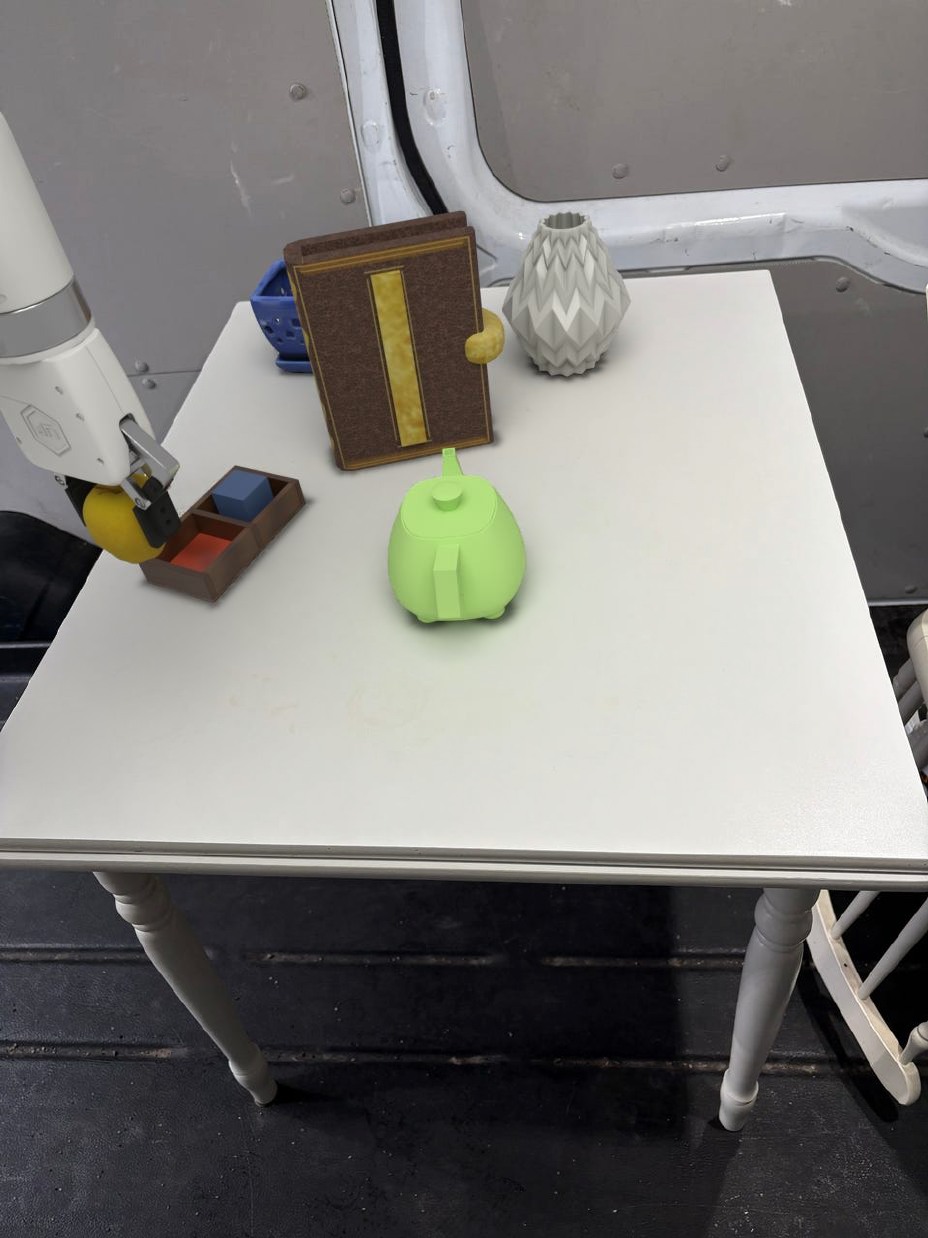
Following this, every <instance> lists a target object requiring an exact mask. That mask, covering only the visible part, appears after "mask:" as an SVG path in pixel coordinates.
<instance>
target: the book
mask: <svg viewBox="0 0 928 1238" xmlns="http://www.w3.org/2000/svg"><path fill="white" fill-rule="evenodd" d="M476 236H477V235H476V230H475V228H474V226H472V225H468V219H467V214H466V211H465V210H456V211H451V212H450V211H449V212H445V213H440V214H433V215H428V216H423V217H416V218H412V219H406V220H399V221H395V222H390V223H389V222H388V223H384V224H377V225H374V226H367V227H361V228H355V229H351V230H344V231H340V232H335V233H328V234H323V235H322V234H321V235H317V236H312V237H306V238H300V239H298V240H295V241H292V242H289V243H287V244H286V245H285V246H284V248H283V249H282V253H283V259H284V261H285V265H286V269H287V273H288V277H289V281H290V285H291V290H292V293H293V296H294V300H295V304H296V308H297V312H298V316H299V320H300V324H301V328H302V332H303V336H304V340H305V344H306V348H307V351H308V355H309V359H310V363H311V367H312V371H313V372H312V375H313V378H314V382H315V385H316V386H315V387H316V390H317V394H318V399H319V402H320V406H321V410H322V415H323V418H324V421H325V425H326V429H327V434H328V437H329V441H330V446H331V449H332V453H333V457H334V461H335V465H336V467H338V468H339V469H340V470H341V471H349V472H352V471H353V472H354V471H359V470H364V469H369V468H373V467H378V466H383V465H388V464H395V463H398V462H403V461H408V460H414V459H418V458H424V457H428V456H434V455H438V454H443V449H446V448H455V451H459V450H463V449H467V448H472V447H473V448H474V447H479V446H483V445H484V446H485V445H489V444H493V443H494V441H495V439H494V430H493V429H494V427H493V417H492V416H493V415H492V405H491V395H490V394H491V393H490V382H489V372H488V371H489V370H488V364H489V363H491V362H493V361H494V360H495V359H497V358H498V357H500V355H501V354H502V353H503V350H504V347H505V342H506V334H505V327H504V324H503V322H502V320H501V318H500V317H499V316H498V314H496V313H495V312H494V311H491V310H490V309H487V308H485V307H483V304H482V294H481V282H480V271H479V270H480V269H479V259H478V248H477V238H476Z"/></svg>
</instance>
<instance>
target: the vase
mask: <svg viewBox="0 0 928 1238" xmlns="http://www.w3.org/2000/svg"><path fill="white" fill-rule="evenodd" d="M530 238H531V239H530V242H529V243H528V245H527V246H526V247H525V249H523V251H522V253H521V258H520V261H519V266H518V268H517V272H516V275H515V276H514V277H513V279H512V280H511V281H510V283H509V285H508V289H507V291H506V295H505V298H504V300H503V304H502V307H501V312H502V313H503V315H504V317H505V319H506V321H507V322H508V325H509V326H510V328H511V330H512V331H513V333H514V335H515V338H516V340H517V341H518V343H519V345H520V346H521V348H522V350H523V351H524V353H525V355H526V356H528V357H530V358H532V360H533V364H534V365H537V366H538V370H539V372H548V374H549V375H550V376H555V375H557V376H558V375H562V376H565V377H567V378H568V377H570V376H571V375H573V374H580V375H583V374H584V373H585V371H587V370H588V369H594V368H595V365H596V363H597V362H598V361H600V358H601V354H603V353H605V352H607V351H608V348H609V347H610V345H611V343H612V341H613V340H614V338H615V336H616V334H617V332H618V330H619V326H620V325H621V323H622V321H623V319H624V317H625V315H626V314H627V311H628V308H629V307H630V305H631V303H632V299H631V297H630V294H629V292H628V289H627V287H626V284H625V282H624V279H623V276H622V274H621V273H620V272H619V271H618V270H617V268H615V267H614V263H613V261H612V257H611V253H610V250H609V247H608V244H606V243H605V242H604V240H602V238H601V237H600V235H599V232H598V229H597V228H596V227H595V226H594V225H593V222H592V220H591V218H590V215H589V214H583V212H582V211H576V212H574V211H572V210H571V209H570V210H567V211H565V212H563V211H559V210H557V211H556V212H555V213H553V214H551V213H547V214H546V216H545V217H541V218H539V219H538V224H537V227H536V230H535V231H533V233H532V235H531V237H530Z"/></svg>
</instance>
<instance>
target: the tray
mask: <svg viewBox="0 0 928 1238" xmlns="http://www.w3.org/2000/svg"><path fill="white" fill-rule="evenodd" d="M234 470H240V471H244V472H248V473H253V474H257V475H261V476H266V477H267V479H268V482H269V485H270V488H271V491H272V494H273V497H274V499H273V500H272V501H271V502H270V503H269V504H268V505H267V506H266V507H265V508H264V509H263V510H262V511H261V512H260V513H259V514H258V515H257V516H256V517H255V518H254V519H253V520H252V521H251V523H249V522H245V521H242V520H238V519H234V518H230V517H226V516H222V515H220V514H219V511H218V509H217V506H216V504H215V501H214V499H213V496H212V494H211V492H212V491H213V490H214V489H215V488H216V487H217V486H218V485H219V484H220V483H221V482H222V481H224V480H225V479H226V478H227V477H228V476H229V475H230V474H231V473H232V472H233V471H234ZM306 502H307V501H306V499H305V496H304V493H303V489H302V486H301V483H300V479H298V478H295V477H289V476H284V475H280V474H276V473H272V472H267V471H264V470H263V471H262V470H259V469H254V468H250V467H245V466H241V465H236V464H235V465H233V466H232V467H231V468H230V469H229V470H228V471H227V472H226V473H225V474H224V475H223V476H221V478H220V479H218V481H216V482H215V484H214V485H212V486H211V487H210V488H209V489H208V490H207V491H206V492H205V493H204V494H203V495H202V496H201V497H199V498H198V500H196V501H195V502H194V503H193V504H192V505H191V506H190V507H189V508H188V509H187V510H185V512H184V513H183V514H181V516H179V518H180V520H181V522H182V526H181V528H180V529H179V530H178V531H177V532H176V533H175V534H174V535H173V536H172V537H171V538H170V539H169V540H168V541H167V542H166V543H165V545H164V548H163V550H162V552H161V553H160V554H159V555H158V556H157V557H155V558H152V559H149V560H146V561H144V562H141V563H138V564H137V565H139V567H140V569H141V571H142V573H143V575H144V577H145V579H146V582H147V583H149V584H153V585H156V586H159V587H162V588H166V589H169V590H172V591H175V592H178V593H181V594H185V595H188V596H192V597H195V598H197V599H201V600H203V601H208V602H211V603H215V602H216V601H217V600H218V599H219V598H220V597H221V595H223V593H224V592H225V591H226V590H227V589H228V588H229V587H230V586H231V585H232V584H233V583H234V582H235V580H236V579H237V578H238V577H239V576H240V575H241V574H242V573H243V572H244V571H245V570H246V569H247V567H248V566H249V565H250V564H251V563H252V562H253V561H254V560H255V559H256V558H257V557H258V555H259V554H260V553H261V552H262V551H263V550H264V549H265V548H266V547H267V546H268V545H269V543H270V542H272V540H274V538H275V537H276V536H277V535H278V534H279V533H280V532H281V531H282V530H283V528H284V527H285V526H286V525H287V524H288V523H289V522H290V521H291V520H292V519H293V518H294V517H295V515H296V514H297V513H298V512H299V511H300V510H301V509H302V508H303V507H304V506H305V505H306Z"/></svg>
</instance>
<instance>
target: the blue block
mask: <svg viewBox="0 0 928 1238" xmlns="http://www.w3.org/2000/svg"><path fill="white" fill-rule="evenodd" d="M211 494H212V496H213V499H214V501H215V504H216V506H217V509H218V511H219V514H220V515H222V516H226V517H230V518H234V519H238V520H242V521H245V522H249V523H251V521H252V520H253V519H254V518H255V517H256V516H257V515H258V514H259V513H260V512H261V511H262V510H263V509H264V508H265V507H266V506H267V505H268V504H269V503H270V502H271V501H272V500H273V499H274V497H273V494H272V491H271V488H270V485H269V482H268V479H267V477H266V476H261V475H257V474H253V473H248V472H244V471H240V470H234V471H233V472H232V473H231V474H230V475H229V476H228V477H227V478H226V479H225V480H224V481H222V482H221V483H220V484H219V485H218V486H217V487H216V488H215V489H214V490H213V491H212V492H211Z"/></svg>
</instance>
